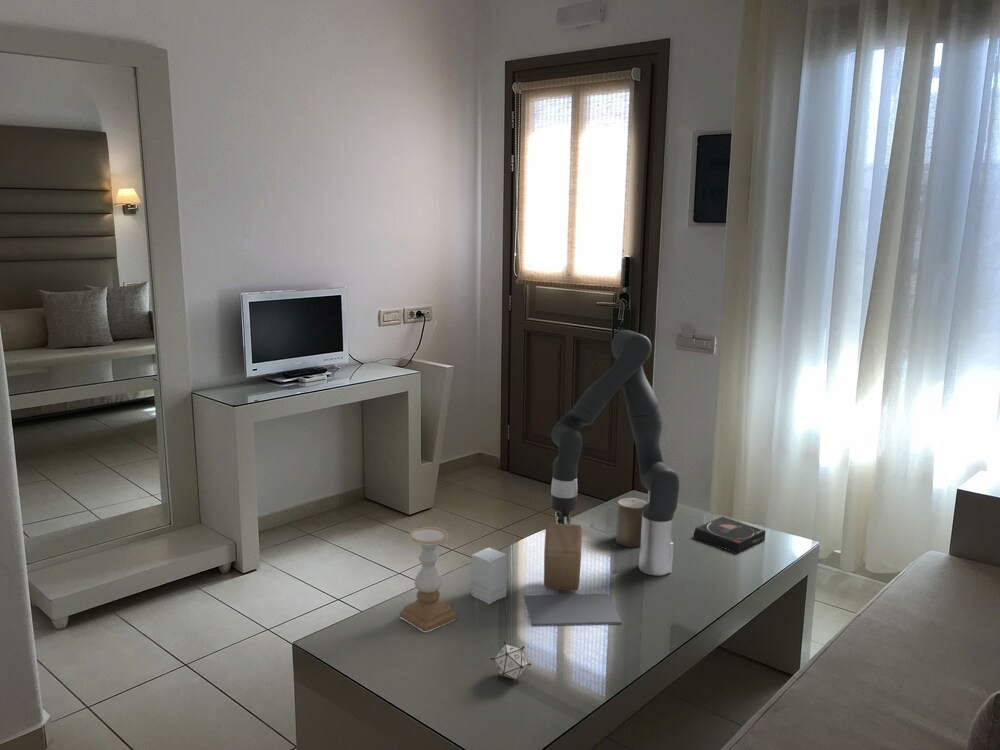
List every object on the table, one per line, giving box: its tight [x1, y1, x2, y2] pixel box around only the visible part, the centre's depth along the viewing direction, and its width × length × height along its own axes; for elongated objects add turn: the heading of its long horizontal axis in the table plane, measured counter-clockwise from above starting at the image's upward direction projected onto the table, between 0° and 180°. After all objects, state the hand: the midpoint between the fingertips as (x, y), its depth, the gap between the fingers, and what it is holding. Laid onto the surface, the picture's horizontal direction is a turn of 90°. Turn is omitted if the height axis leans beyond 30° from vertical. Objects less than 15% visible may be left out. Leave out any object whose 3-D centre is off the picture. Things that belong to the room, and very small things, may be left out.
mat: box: [523, 592, 623, 627], centre depth 219 cm, size 24×16×1 cm, turn 95°
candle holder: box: [399, 526, 457, 631], centre depth 210 cm, size 11×11×24 cm
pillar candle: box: [615, 497, 648, 548], centre depth 264 cm, size 10×10×15 cm
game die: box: [490, 640, 532, 684], centre depth 186 cm, size 9×8×10 cm
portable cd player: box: [692, 516, 766, 554], centre depth 269 cm, size 16×17×4 cm
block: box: [543, 522, 583, 592], centre depth 226 cm, size 10×10×20 cm
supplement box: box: [470, 547, 508, 605], centre depth 224 cm, size 7×7×13 cm
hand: (561, 548), depth 234 cm, fingers closed
